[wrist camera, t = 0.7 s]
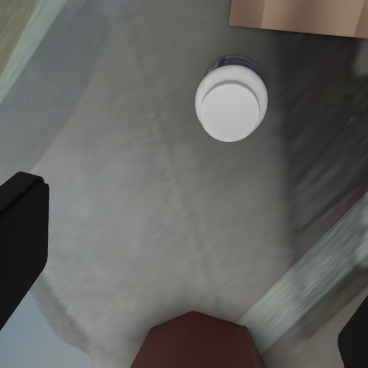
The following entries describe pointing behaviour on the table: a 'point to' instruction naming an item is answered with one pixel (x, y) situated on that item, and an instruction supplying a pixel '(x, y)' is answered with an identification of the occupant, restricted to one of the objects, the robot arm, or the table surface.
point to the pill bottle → (231, 98)
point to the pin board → (303, 16)
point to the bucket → (198, 345)
